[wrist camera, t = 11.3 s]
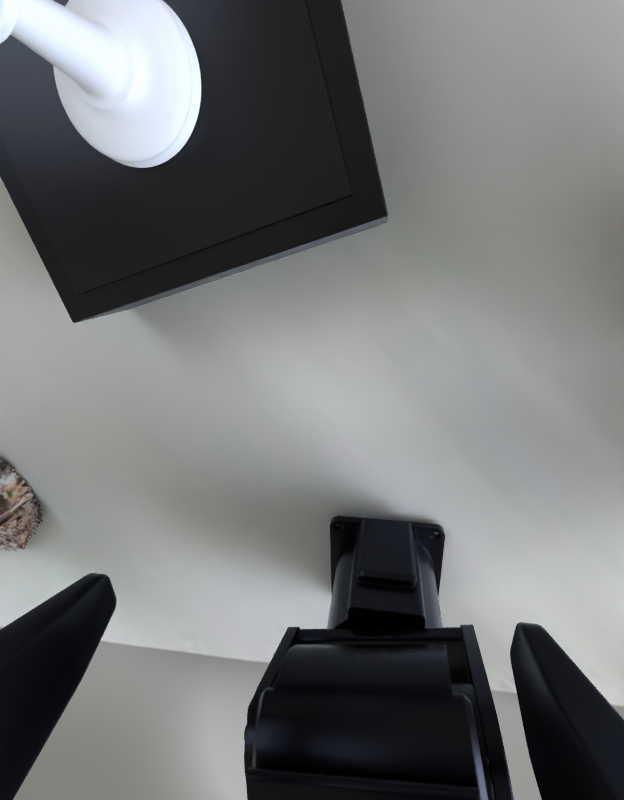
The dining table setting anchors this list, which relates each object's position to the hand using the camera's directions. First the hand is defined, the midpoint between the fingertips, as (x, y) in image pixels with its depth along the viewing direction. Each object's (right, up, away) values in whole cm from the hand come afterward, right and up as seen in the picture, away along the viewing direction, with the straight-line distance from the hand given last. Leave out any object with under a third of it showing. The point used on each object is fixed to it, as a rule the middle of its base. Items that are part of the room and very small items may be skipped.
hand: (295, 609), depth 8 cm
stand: (-5, +17, +8) cm, 20 cm away
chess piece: (-6, +15, +5) cm, 17 cm away
